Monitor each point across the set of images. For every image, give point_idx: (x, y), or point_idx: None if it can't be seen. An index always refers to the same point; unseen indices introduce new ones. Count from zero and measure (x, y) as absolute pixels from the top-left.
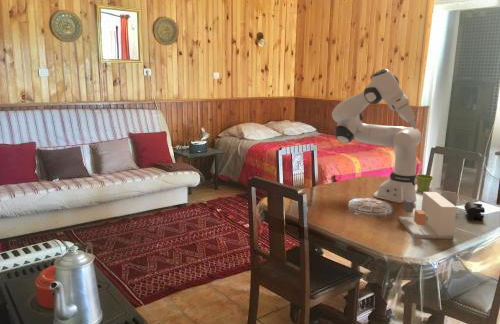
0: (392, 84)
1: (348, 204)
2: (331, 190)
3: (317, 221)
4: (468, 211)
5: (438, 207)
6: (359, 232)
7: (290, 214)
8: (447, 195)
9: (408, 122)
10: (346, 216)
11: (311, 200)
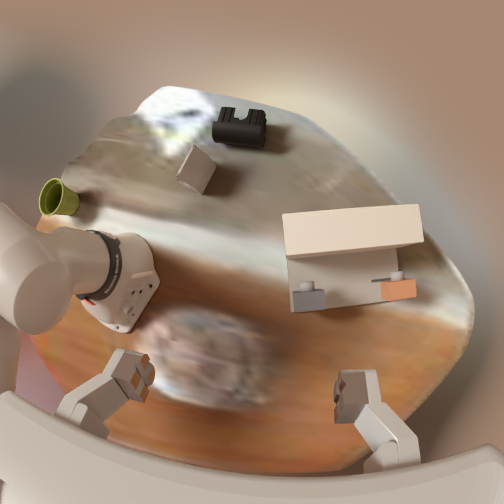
0: None
1: (197, 404)
2: None
3: (323, 464)
4: (261, 143)
5: (402, 244)
6: None
7: None
8: (190, 168)
9: (119, 398)
10: (286, 419)
11: (189, 464)
